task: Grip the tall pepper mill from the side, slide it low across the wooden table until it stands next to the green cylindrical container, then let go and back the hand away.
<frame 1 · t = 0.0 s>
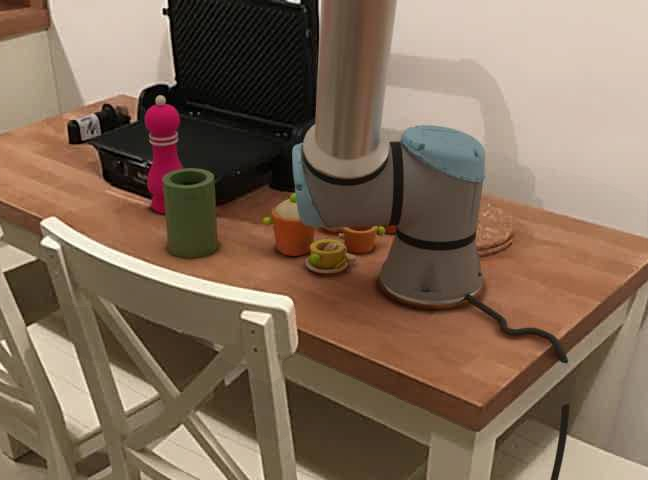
toy tea set: (341, 242, 152), on the table
pepper mill: (169, 207, 166), on the table
green cylindrical container: (193, 246, 152), on the table
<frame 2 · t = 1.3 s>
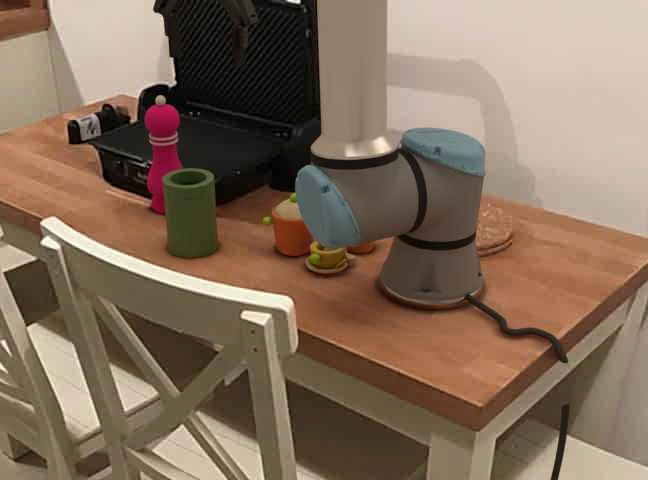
hand: (206, 61, 162), 22 cm above the table, tool pointing down, fingers open, 13 cm apart
nothing on the table moved.
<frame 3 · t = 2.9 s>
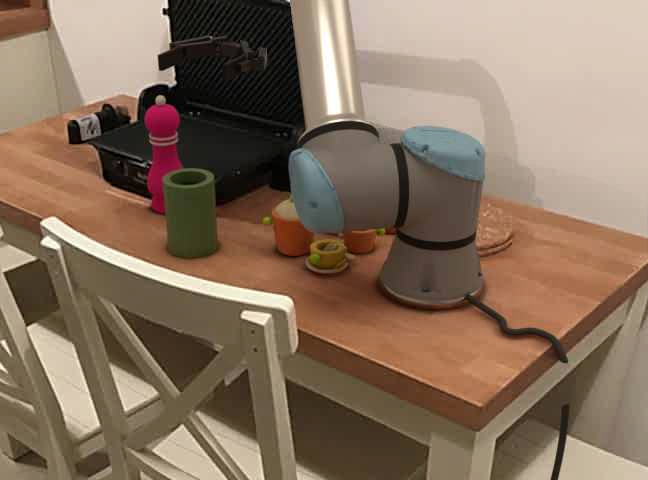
hand: (191, 67, 159), 22 cm above the table, tool horizontal, fingers open, 13 cm apart
nothing on the table moved.
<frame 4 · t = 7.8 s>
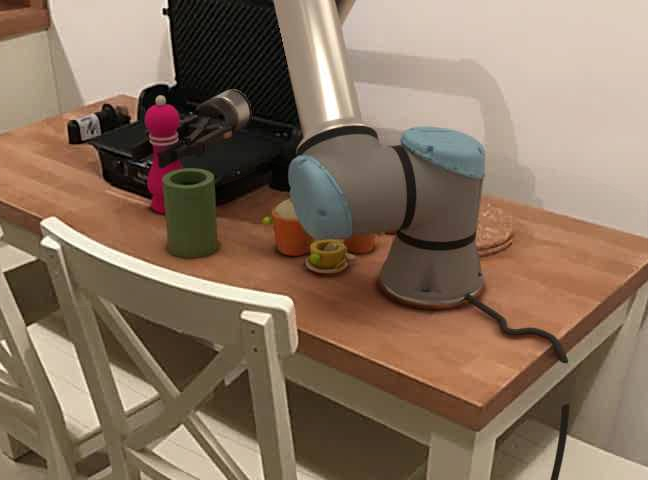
hand: (146, 157, 155), 11 cm above the table, tool horizontal, fingers closed on pepper mill, 5 cm apart
pepper mill: (169, 207, 166), on the table, touching gripper
everything else where it was.
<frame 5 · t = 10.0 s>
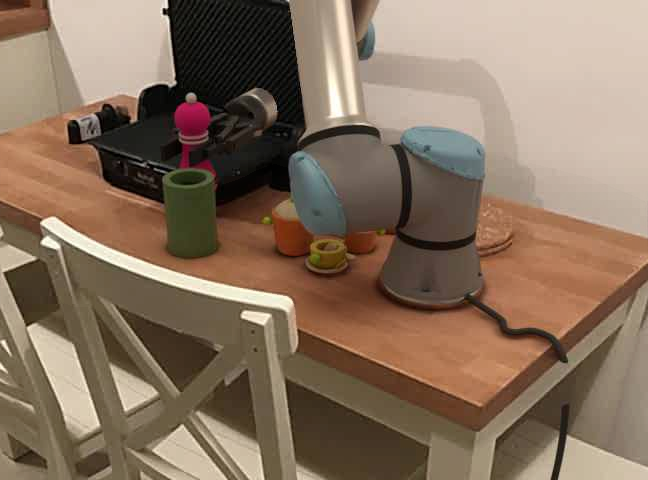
hand: (176, 156, 152), 12 cm above the table, tool horizontal, fingers closed on pepper mill, 5 cm apart
pepper mill: (198, 207, 162), point 1 cm above the table, touching gripper
everything else where it was.
when the fingers open (11 cm above the table, at t = 12.1 s): pepper mill stays where it is, on the table.
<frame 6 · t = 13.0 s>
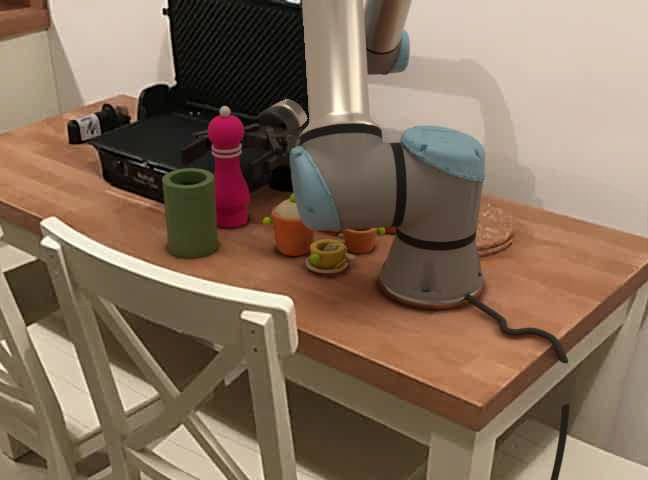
hand: (216, 164, 151), 11 cm above the table, tool horizontal, fingers open, 13 cm apart
pepper mill: (229, 221, 160), on the table
everything else where it was.
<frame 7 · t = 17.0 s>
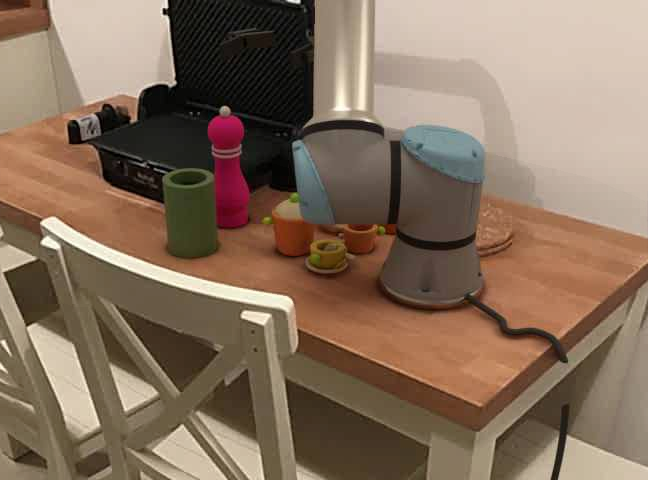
hand: (255, 57, 152), 25 cm above the table, tool horizontal, fingers open, 13 cm apart
nothing on the table moved.
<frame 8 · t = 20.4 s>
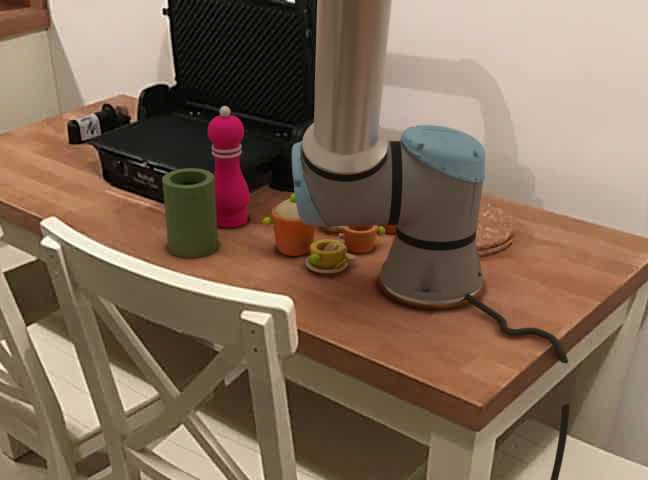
hand: (337, 15, 147), 32 cm above the table, tool pointing down, fingers open, 13 cm apart
nothing on the table moved.
at the end: pepper mill 11.6 cm from the green cylindrical container (horizontally); pepper mill tilted 0°; the gripper is holding nothing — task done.
